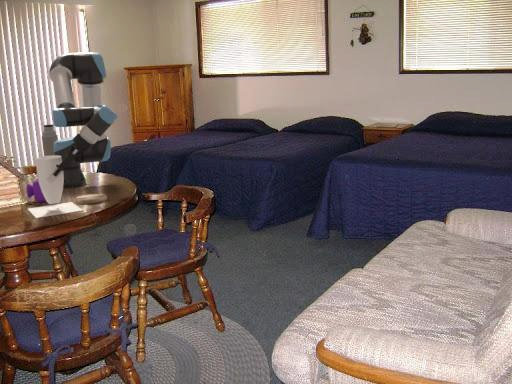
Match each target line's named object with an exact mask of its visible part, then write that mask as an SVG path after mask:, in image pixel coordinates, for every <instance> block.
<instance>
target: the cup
mask: <svg viewBox="0 0 512 384" xmlns="http://www.w3.org/2000/svg"><path fill="white" fill-rule="evenodd" d="M61 162H62V158H61V156H57V155H53V156H44V155H43V156H39V157H36V158H35V166H36V174H37V179H38V181H39V185H40V187H41V190H42V193H43V195H44V197H45V199H46V201H47V202H46V203H47V204H48V205H56V204H60V202H61V199H62V196H63V190H64V188H63V183H64V174H63V172H62V173H61V174H60V175H59V176H58V177H57V178H56V180H55V181H54V182H53V183H52V184H51V183H50V182H49V181H47V180H46V179H47V178H48V177H49V175H50V174H51V173H52V172H53V171H54V170H55V169H56V168H57V167H56V165H60V164H61Z"/></svg>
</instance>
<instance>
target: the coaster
mask: <svg viewBox="0 0 512 384" xmlns="http://www.w3.org/2000/svg"><path fill="white" fill-rule="evenodd" d="M106 201H108V195H107V194H104V193H89V194H83V195H79V196H76V198H75V203H77V204H79V205H92V204H95V205H96V204H98V203H103V202H106Z"/></svg>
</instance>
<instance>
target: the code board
mask: <svg viewBox="0 0 512 384" xmlns="http://www.w3.org/2000/svg"><path fill="white" fill-rule="evenodd" d="M27 210H28V212H29V213H31V215H32V216H33V217H34V218H36V219H40V218H46V217H53V216H59V215H64V214H70V213H71V214H72V213H78V212H83V211H84V210H83V209H82V208H81V207H80V206H78V205H77V204H75V203H74V202H73V201H70V202H64V203H55V204H48V205H43V206H38V207H37V206H36V207H29V208H27Z"/></svg>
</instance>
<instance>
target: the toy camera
mask: <svg viewBox="0 0 512 384" xmlns="http://www.w3.org/2000/svg"><path fill="white" fill-rule="evenodd" d="M25 193H26V195H27V198H28V199H31V198H32V197H33V196H34V201H35V202H36V203H48V202H47V201H46V199H45V197H44V195H43V193H42V190H41V187H40V185H39V181H38V178H36V179H34V181H33V183H32V184H30V183H27V184H26V187H25Z"/></svg>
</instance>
